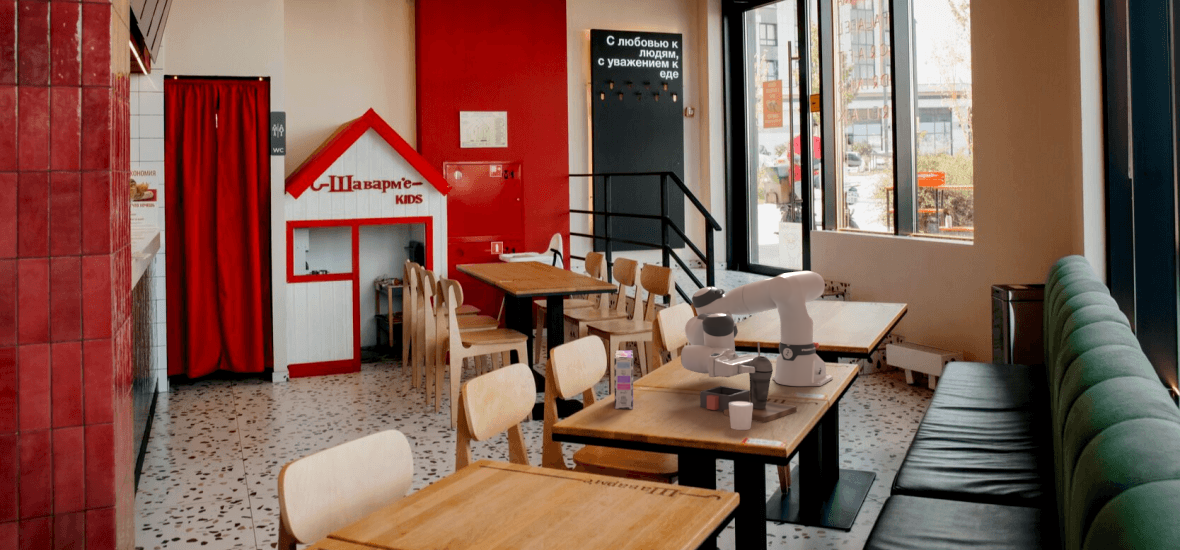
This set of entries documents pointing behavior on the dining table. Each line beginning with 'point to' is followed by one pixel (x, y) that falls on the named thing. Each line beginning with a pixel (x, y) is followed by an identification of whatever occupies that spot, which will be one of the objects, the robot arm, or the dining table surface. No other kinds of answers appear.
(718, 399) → the dark grey open box
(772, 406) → the walnut mat
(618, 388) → the candy box
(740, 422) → the white cup
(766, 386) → the beverage cup
